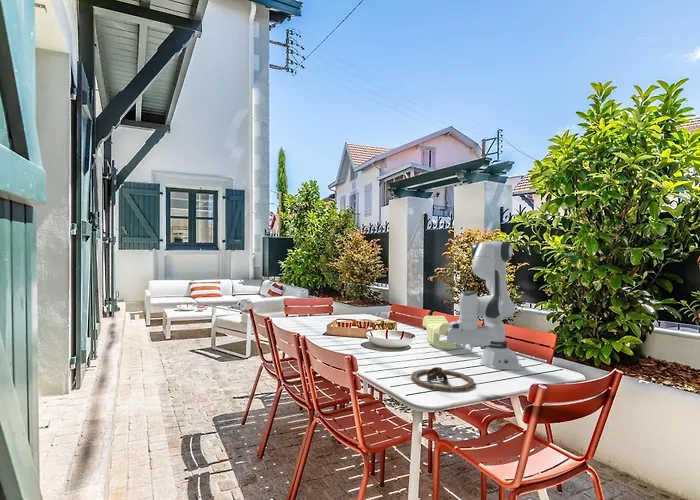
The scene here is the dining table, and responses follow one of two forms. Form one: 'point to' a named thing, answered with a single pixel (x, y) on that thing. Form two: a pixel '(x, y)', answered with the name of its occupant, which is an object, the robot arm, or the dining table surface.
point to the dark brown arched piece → (437, 374)
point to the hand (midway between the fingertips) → (468, 353)
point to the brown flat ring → (443, 388)
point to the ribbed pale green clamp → (437, 331)
